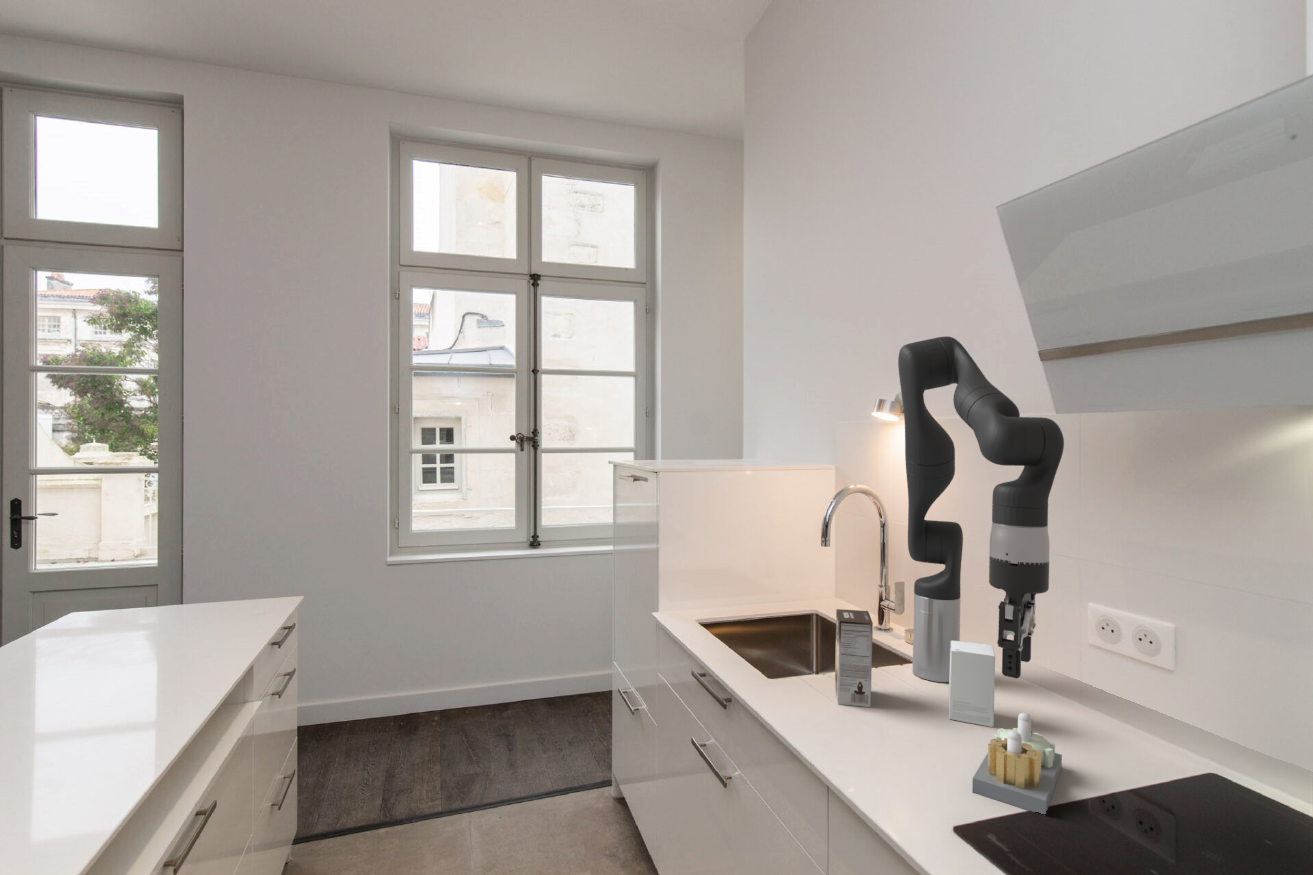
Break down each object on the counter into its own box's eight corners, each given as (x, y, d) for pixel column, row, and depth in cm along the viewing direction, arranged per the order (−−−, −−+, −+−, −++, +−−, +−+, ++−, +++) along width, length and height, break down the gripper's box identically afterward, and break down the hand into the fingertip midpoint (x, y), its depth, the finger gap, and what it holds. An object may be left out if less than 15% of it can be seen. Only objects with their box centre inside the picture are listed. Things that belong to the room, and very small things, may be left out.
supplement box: (994, 728, 114) (995, 656, 114) (948, 719, 117) (949, 649, 117) (992, 712, 121) (993, 644, 121) (948, 704, 124) (950, 638, 124)
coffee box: (833, 686, 132) (835, 607, 132) (866, 690, 130) (868, 610, 131) (837, 704, 123) (838, 619, 123) (872, 708, 121) (874, 622, 122)
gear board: (997, 749, 106) (998, 697, 106) (1061, 767, 100) (1062, 712, 100) (972, 791, 92) (973, 732, 93) (1045, 815, 87) (1046, 752, 87)
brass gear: (993, 760, 98) (993, 733, 98) (1043, 775, 94) (1043, 747, 94) (983, 777, 93) (984, 749, 93) (1036, 793, 89) (1036, 764, 89)
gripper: (999, 546, 101) (997, 650, 101) (979, 558, 90) (977, 675, 90) (1055, 552, 96) (1053, 661, 96) (1041, 566, 85) (1039, 689, 85)
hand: (1016, 668), depth 93 cm, fingers open, 8 cm apart
